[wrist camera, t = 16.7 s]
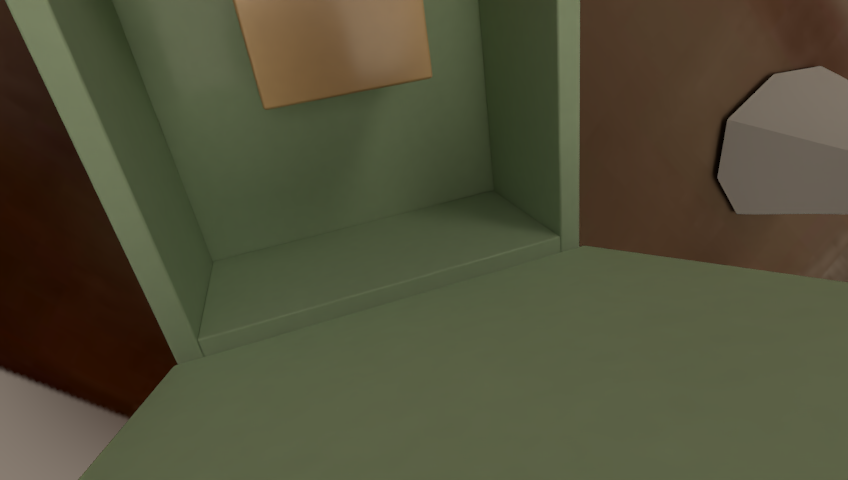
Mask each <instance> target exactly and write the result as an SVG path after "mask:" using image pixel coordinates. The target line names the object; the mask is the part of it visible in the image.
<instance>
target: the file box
mask: <svg viewBox="0 0 848 480" xmlns="http://www.w3.org/2000/svg"><path fill="white" fill-rule="evenodd" d="M5 1H6V3H7V5H8V7H9V10H10V12H11V14H12V16H13V18H14V20H15V22H16V24H17V26H18V29H19V31H20V33H21V35H22V37H23V39H24V41H25V43H26V45H27V47H28V50H29V52H30V54H31V56H32V58H33V60H34V62H35V64H36V66H37V69H38V71H39V73H40V75H41V77H42V79H43V81H44V83H45V85H46V88H47V90H48V92H49V94H50V96H51V98H52V100H53V102H54V104H55V107H56V109H57V111H58V113H59V115H60V117H61V119H62V121H63V123H64V125H65V128H66V130H67V132H68V134H69V136H70V138H71V140H72V142H73V144H74V147H75V149H76V151H77V153H78V155H79V157H80V159H81V161H82V163H83V166H84V168H85V170H86V172H87V174H88V176H89V178H90V180H91V182H92V184H93V187H94V189H95V191H96V193H97V195H98V197H99V199H100V201H101V203H102V206H103V208H104V210H105V212H106V214H107V216H108V218H109V220H110V222H111V225H112V227H113V229H114V231H115V233H116V235H117V237H118V239H119V241H120V244H121V246H122V248H123V250H124V252H125V254H126V256H127V258H128V260H129V262H130V265H131V267H132V269H133V271H134V273H135V275H136V277H137V279H138V281H139V284H140V286H141V288H142V290H143V292H144V294H145V296H146V298H147V300H148V303H149V305H150V307H151V309H152V311H153V313H154V315H155V317H156V319H157V321H158V324H159V326H160V328H161V330H162V332H163V334H164V336H165V338H166V340H167V343H168V345H169V347H170V349H171V351H172V353H173V355H174V357H175V359H176V362H177V364H178V365H179V364H183V363H186V362H189V361H193V360H196V359H200V358H203V357H206V356H210V355H213V354H217V353H220V352H223V351H227V350H230V349H234V348H237V347H240V346H244V345H247V344H251V343H254V342H258V341H261V340H264V339H268V338H271V337H275V336H278V335H281V334H285V333H288V332H292V331H295V330H298V329H302V328H305V327H309V326H312V325H315V324H319V323H322V322H326V321H329V320H333V319H336V318H339V317H343V316H346V315H350V314H353V313H356V312H360V311H363V310H367V309H370V308H373V307H377V306H380V305H384V304H387V303H390V302H394V301H397V300H401V299H404V298H408V297H411V296H414V295H418V294H421V293H425V292H428V291H431V290H435V289H438V288H442V287H445V286H448V285H452V284H455V283H459V282H462V281H465V280H469V279H472V278H476V277H479V276H483V275H486V274H489V273H493V272H496V271H500V270H503V269H506V268H510V267H513V266H517V265H520V264H523V263H527V262H530V261H534V260H537V259H540V258H544V257H547V256H551V255H554V254H558V253H561V252H564V251H568V250H571V249H575V248H578V247H579V134H580V0H423V3H424V11H425V19H426V27H427V35H428V43H429V51H430V59H431V67H432V78H430V79H426V80H420V81H415V82H410V83H405V84H400V85H394V86H389V87H384V88H379V89H374V90H368V91H363V92H358V93H353V94H348V95H342V96H337V97H332V98H327V99H322V100H316V101H311V102H306V103H301V104H296V105H290V106H285V107H280V108H275V109H270V110H265V109H264V108H263V106H262V103H261V99H260V96H259V92H258V89H257V85H256V82H255V78H254V74H253V71H252V67H251V64H250V60H249V57H248V53H247V50H246V46H245V43H244V39H243V36H242V32H241V29H240V25H239V22H238V18H237V15H236V11H235V8H234V4H233V1H232V0H5Z"/></svg>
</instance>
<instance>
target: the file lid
mask: <svg viewBox="0 0 848 480" xmlns="http://www.w3.org/2000/svg"><path fill="white" fill-rule="evenodd" d="M78 480H848V282H841V281H834V280H827V279H820V278H813V277H806V276H798V275H791V274H784V273H777V272H770V271H763V270H755V269H748V268H741V267H734V266H727V265H720V264H712V263H705V262H698V261H691V260H684V259H677V258H670V257H662V256H655V255H648V254H641V253H634V252H627V251H619V250H612V249H605V248H598V247H591V246H581V247H578V248H575V249H571V250H568V251H564V252H561V253H558V254H554V255H551V256H547V257H544V258H540V259H537V260H534V261H530V262H527V263H523V264H520V265H517V266H513V267H510V268H506V269H503V270H500V271H496V272H493V273H489V274H486V275H483V276H479V277H476V278H472V279H469V280H465V281H462V282H459V283H455V284H452V285H448V286H445V287H442V288H438V289H435V290H431V291H428V292H425V293H421V294H418V295H414V296H411V297H408V298H404V299H401V300H397V301H394V302H390V303H387V304H384V305H380V306H377V307H373V308H370V309H367V310H363V311H360V312H356V313H353V314H350V315H346V316H343V317H339V318H336V319H333V320H329V321H326V322H322V323H319V324H315V325H312V326H309V327H305V328H302V329H298V330H295V331H292V332H288V333H285V334H281V335H278V336H275V337H271V338H268V339H264V340H261V341H258V342H254V343H251V344H247V345H244V346H240V347H237V348H234V349H230V350H227V351H223V352H220V353H217V354H213V355H210V356H206V357H203V358H200V359H196V360H193V361H189V362H186V363H183V364H179V365H176V366H174V367H173V368H172V369H171V370H170V371H169V373H168V374H167V375H166V376H165V377H164V378H163V380H162V381H161V382H160V383H159V384H158V386H157V387H156V388H155V389H154V390H153V392H152V393H151V394H150V395H149V396H148V397H147V399H146V400H145V401H144V402H143V403H142V405H141V406H140V407H139V408H138V409H137V411H136V412H135V413H134V414H133V415H132V416H131V418H130V419H129V420H128V421H127V422H126V424H125V425H124V426H123V427H122V428H121V430H120V431H119V432H118V433H117V434H116V436H115V437H114V438H113V439H112V440H111V441H110V443H109V444H108V445H107V446H106V448H105V449H104V450H103V451H102V452H101V453H100V454H99V456H98V457H97V458H96V459H95V461H94V462H93V463H92V464H91V465H90V466H89V468H88V469H87V470H86V471H85V472H84V474H83V475H82V476H81V477H80V478H79V479H78Z"/></svg>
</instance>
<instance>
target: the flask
mask: <svg viewBox="0 0 848 480" xmlns="http://www.w3.org/2000/svg"><path fill="white" fill-rule="evenodd" d="M717 179H718V180H719V182H720V184H721V186H722V188H723V190H724V191H725V193H726V195H727V197H728V199H729V201H730V203H731V204H732V206H733V208H734V210H735V212H736V214H848V80H847V79H845V78H843V77H841V76H840V75H838V74H836V73H834V72H832V71H830V70H828V69H826V68H824V67H822V66H818V67H812V68H806V69H800V70H795V71H789V72H783V73H777V74H773V75H772V76H771V77H770V78H769V79H768V80H767V81H766V82H765V83H764V84H763V85H762V86H761V87H760V88H759V89H758V90H757V91H756V92H755V93H754V94H753V95H752V96H751V97H750V98H749V99H748V100H747V101H746V102H745V103H744V104H743V105H742V106H741V107H740V108H739V109H738V110H737V111H735V112H734V113H733V114H732V115H731V116H730V117H729V118H728V119H727V124H726V130H725V136H724V142H723V148H722V153H721V159H720V165H719V171H718V177H717Z"/></svg>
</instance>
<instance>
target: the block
mask: <svg viewBox="0 0 848 480" xmlns="http://www.w3.org/2000/svg"><path fill="white" fill-rule="evenodd" d="M232 1H233V4H234V8H235V11H236V15H237V18H238V22H239V25H240V29H241V32H242V36H243V39H244V43H245V46H246V50H247V53H248V57H249V60H250V64H251V67H252V71H253V74H254V78H255V82H256V85H257V89H258V92H259V96H260V99H261V103H262V106H263V108H264V109H265V110H270V109H275V108H280V107H285V106H290V105H296V104H301V103H306V102H311V101H316V100H322V99H327V98H332V97H337V96H342V95H348V94H353V93H358V92H363V91H368V90H374V89H379V88H384V87H389V86H394V85H400V84H405V83H410V82H415V81H420V80H426V79H430V78H432V67H431V59H430V51H429V43H428V35H427V27H426V19H425V11H424V3H423V0H232Z"/></svg>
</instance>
